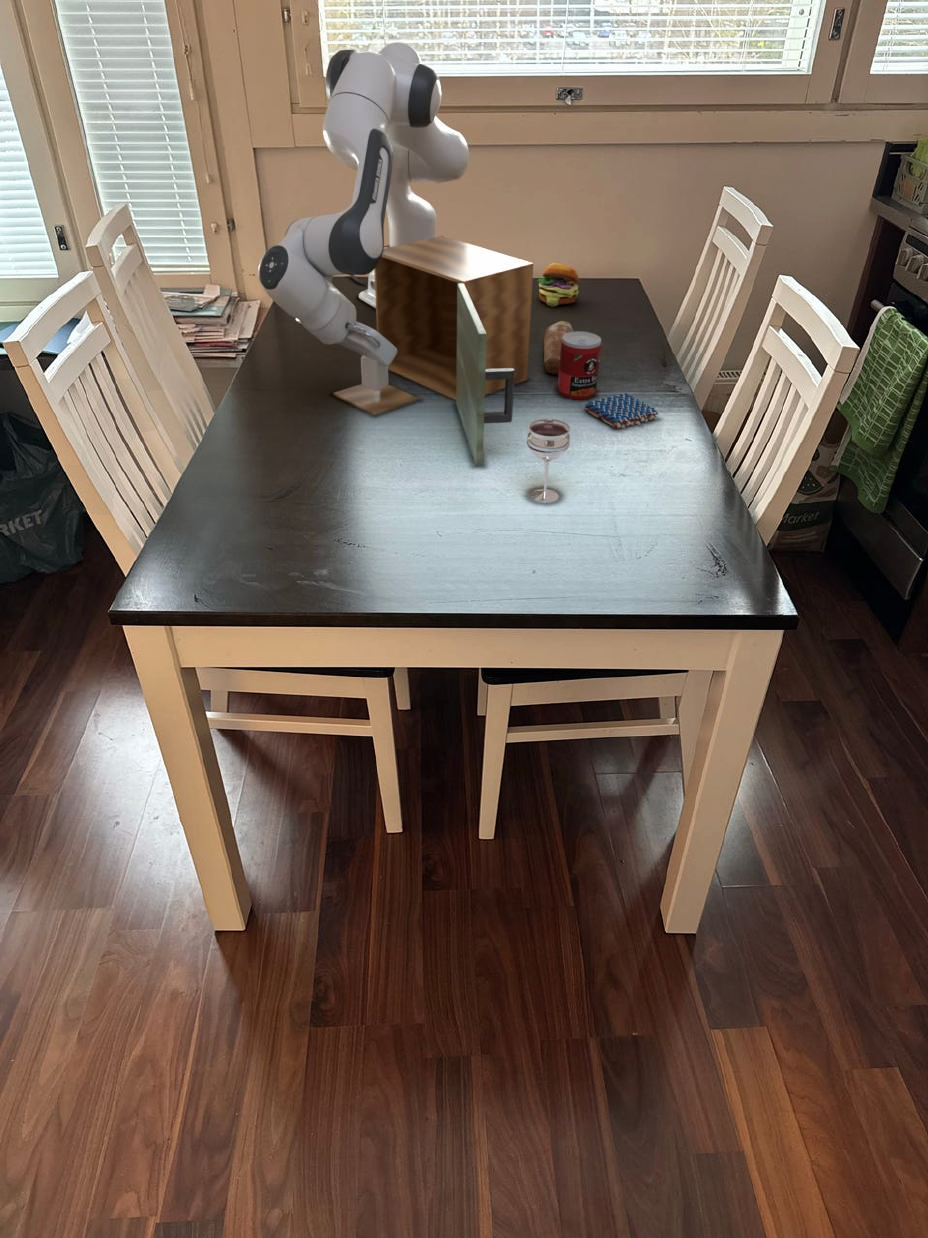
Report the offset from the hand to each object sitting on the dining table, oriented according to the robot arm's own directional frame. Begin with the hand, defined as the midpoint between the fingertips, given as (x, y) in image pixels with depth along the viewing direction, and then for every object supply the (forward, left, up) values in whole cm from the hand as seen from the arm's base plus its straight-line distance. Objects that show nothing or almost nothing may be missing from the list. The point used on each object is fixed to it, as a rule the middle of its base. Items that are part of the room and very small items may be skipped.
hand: (376, 357), depth 176 cm
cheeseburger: (-18, +71, -8) cm, 74 cm away
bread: (+10, +41, -8) cm, 43 cm away
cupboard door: (+25, +4, -8) cm, 27 cm away
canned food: (+24, +31, -8) cm, 40 cm away
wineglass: (+49, -5, -8) cm, 50 cm away
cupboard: (0, +19, -8) cm, 21 cm away
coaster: (0, -1, -8) cm, 8 cm away
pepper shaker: (0, -1, -6) cm, 6 cm away
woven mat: (+37, +29, -8) cm, 48 cm away
